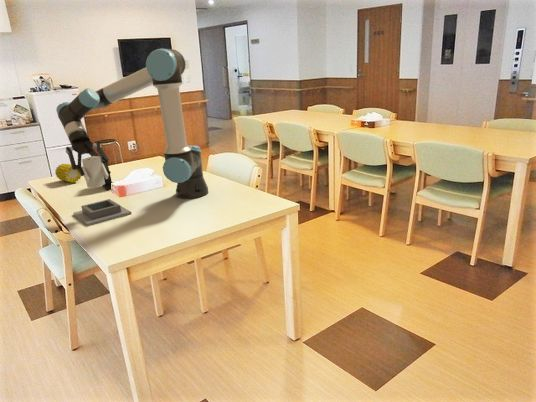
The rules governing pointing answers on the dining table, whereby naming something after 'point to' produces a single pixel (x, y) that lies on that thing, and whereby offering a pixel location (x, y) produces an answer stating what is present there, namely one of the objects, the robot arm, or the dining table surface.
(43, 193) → the dining table surface
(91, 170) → the skincare box
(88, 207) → the dock
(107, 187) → the black knobby slab
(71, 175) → the food
